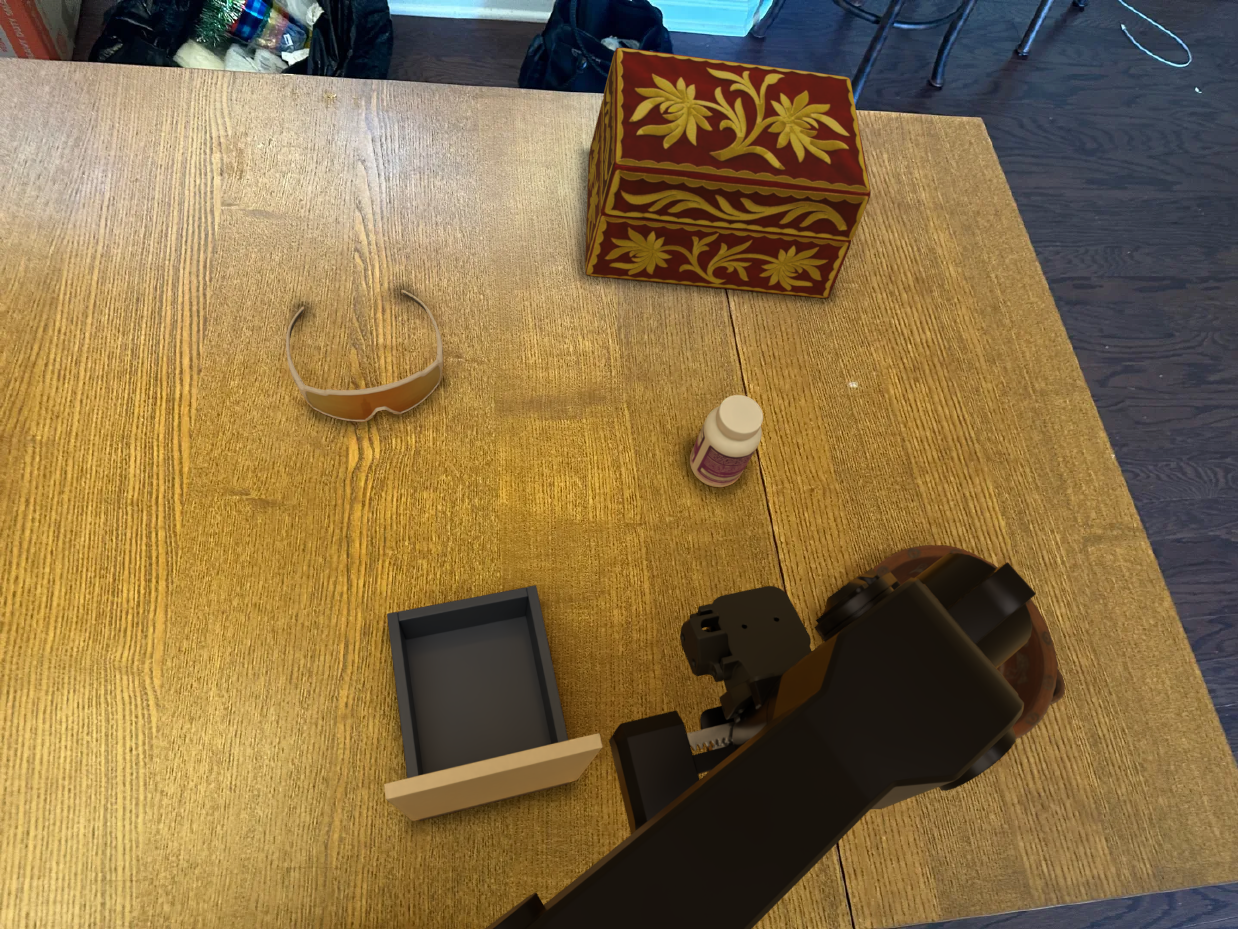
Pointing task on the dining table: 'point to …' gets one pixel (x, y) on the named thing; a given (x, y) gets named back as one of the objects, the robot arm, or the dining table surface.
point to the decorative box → (723, 175)
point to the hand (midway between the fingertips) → (737, 763)
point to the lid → (492, 778)
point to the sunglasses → (374, 399)
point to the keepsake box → (474, 681)
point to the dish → (1027, 667)
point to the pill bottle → (727, 441)
